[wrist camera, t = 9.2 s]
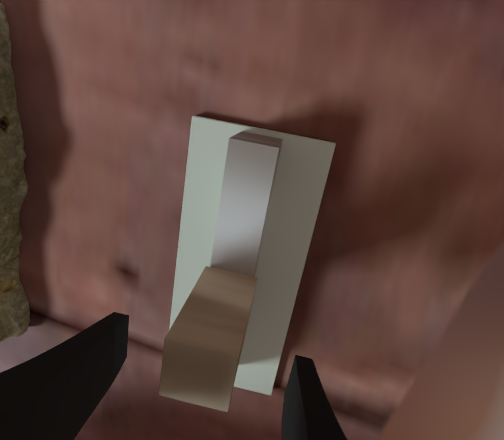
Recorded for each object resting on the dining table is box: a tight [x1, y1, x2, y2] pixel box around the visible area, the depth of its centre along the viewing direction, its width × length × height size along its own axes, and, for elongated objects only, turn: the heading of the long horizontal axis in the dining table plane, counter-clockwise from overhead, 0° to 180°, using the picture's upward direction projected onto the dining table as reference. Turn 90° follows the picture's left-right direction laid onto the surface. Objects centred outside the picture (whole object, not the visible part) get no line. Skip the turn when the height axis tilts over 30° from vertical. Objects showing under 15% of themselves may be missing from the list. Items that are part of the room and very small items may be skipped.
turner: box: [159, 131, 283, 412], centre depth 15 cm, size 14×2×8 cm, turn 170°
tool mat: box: [169, 116, 336, 395], centre depth 19 cm, size 16×7×1 cm, turn 170°
